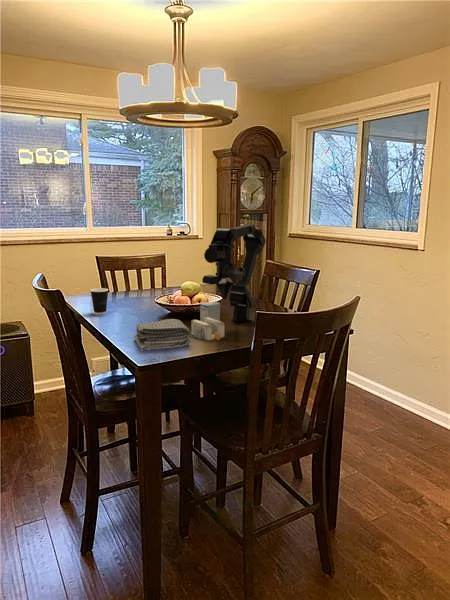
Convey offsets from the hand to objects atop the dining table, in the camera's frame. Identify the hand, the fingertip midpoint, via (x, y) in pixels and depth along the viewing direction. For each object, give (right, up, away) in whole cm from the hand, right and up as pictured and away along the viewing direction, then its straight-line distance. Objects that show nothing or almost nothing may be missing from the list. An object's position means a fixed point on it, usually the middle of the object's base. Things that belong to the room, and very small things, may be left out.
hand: (224, 298), depth 183 cm
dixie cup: (-56, -7, +23) cm, 61 cm away
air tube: (-7, -14, -10) cm, 18 cm away
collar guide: (-6, -14, -10) cm, 18 cm away
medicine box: (-6, -11, +8) cm, 15 cm away
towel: (-23, -16, -19) cm, 34 cm away
